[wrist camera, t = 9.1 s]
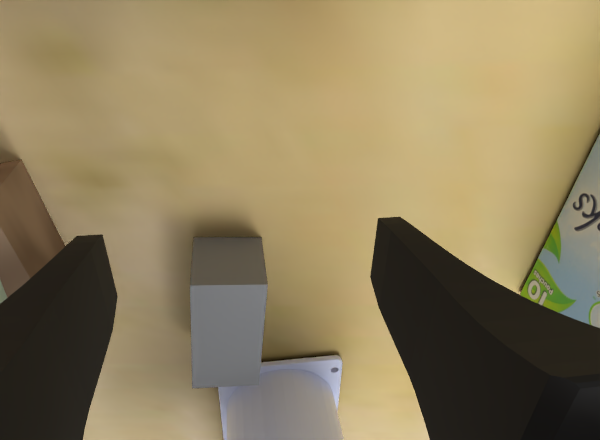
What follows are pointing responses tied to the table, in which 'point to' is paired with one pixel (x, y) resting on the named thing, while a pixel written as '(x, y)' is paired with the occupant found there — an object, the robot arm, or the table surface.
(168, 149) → the table surface
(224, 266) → the gray brick
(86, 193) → the table surface
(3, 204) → the walnut brick
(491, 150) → the table surface
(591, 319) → the snack box
